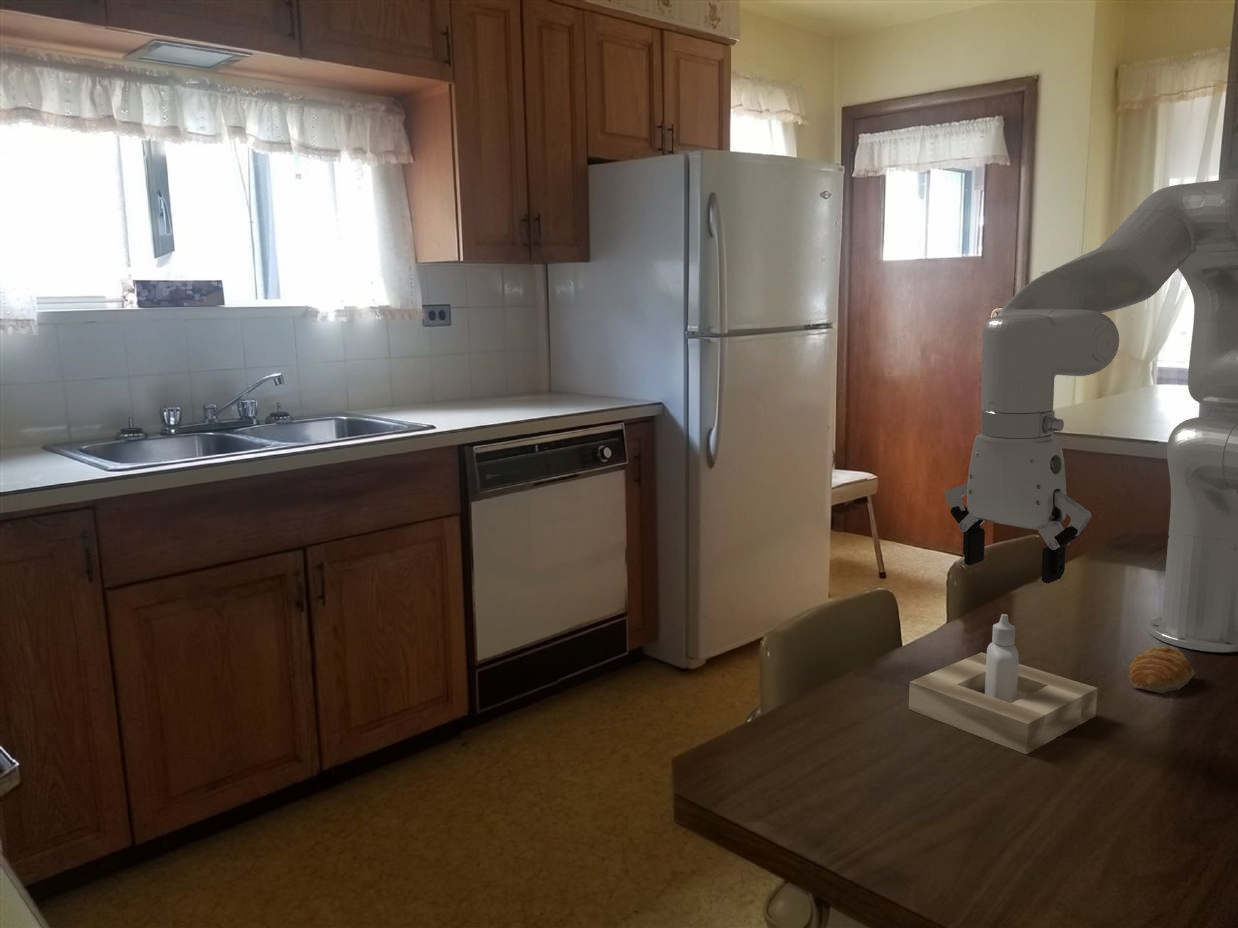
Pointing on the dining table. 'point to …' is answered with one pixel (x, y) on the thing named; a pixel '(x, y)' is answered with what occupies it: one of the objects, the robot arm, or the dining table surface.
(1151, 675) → the pastry
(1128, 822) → the dining table surface
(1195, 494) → the robot arm
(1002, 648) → the eye dropper bottle
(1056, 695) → the rectangular frame
